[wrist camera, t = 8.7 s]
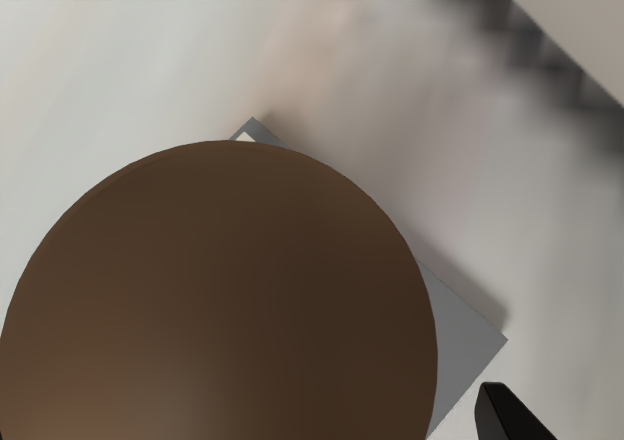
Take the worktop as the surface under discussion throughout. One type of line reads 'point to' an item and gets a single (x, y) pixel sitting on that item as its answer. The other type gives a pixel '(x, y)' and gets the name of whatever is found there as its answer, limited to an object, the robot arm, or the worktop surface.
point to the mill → (220, 309)
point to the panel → (438, 324)
